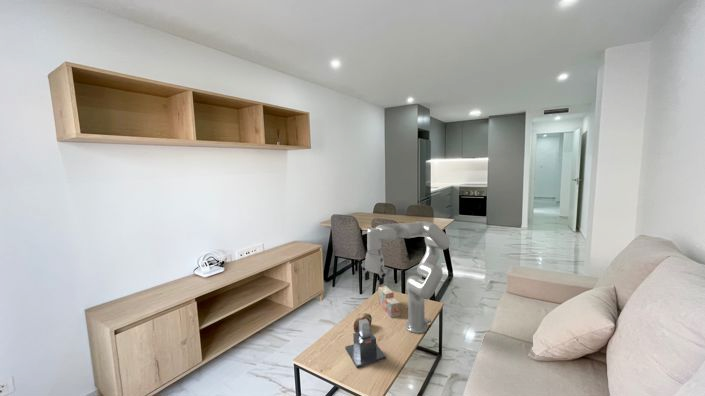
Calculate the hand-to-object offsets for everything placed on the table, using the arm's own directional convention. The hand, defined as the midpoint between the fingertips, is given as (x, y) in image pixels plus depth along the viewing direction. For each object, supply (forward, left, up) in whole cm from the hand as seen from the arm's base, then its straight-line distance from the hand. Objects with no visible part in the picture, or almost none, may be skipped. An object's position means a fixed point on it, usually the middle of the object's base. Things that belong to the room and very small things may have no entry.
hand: (374, 282), depth 155 cm
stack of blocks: (-24, -29, -35) cm, 52 cm away
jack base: (+10, +6, -35) cm, 37 cm away
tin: (+2, -15, -35) cm, 38 cm away
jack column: (+10, +6, -33) cm, 35 cm away
